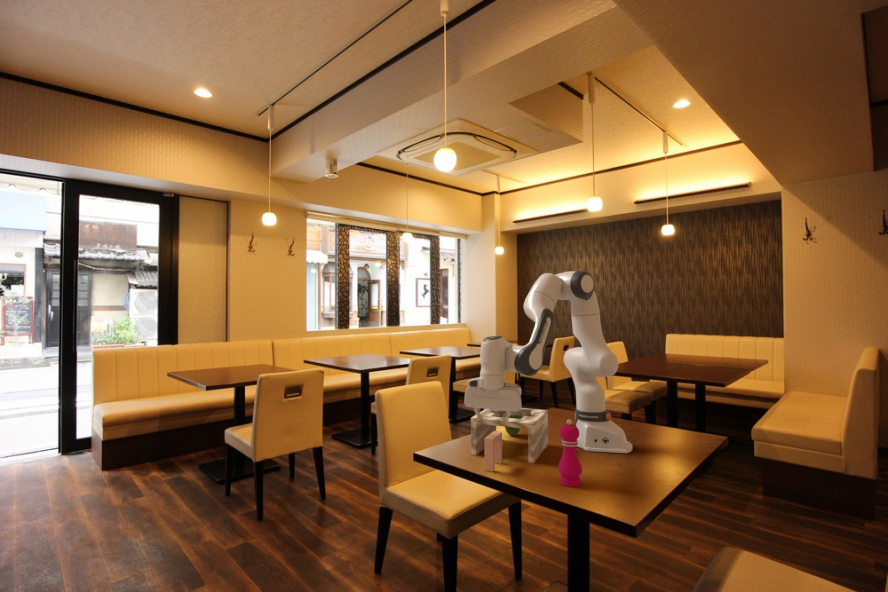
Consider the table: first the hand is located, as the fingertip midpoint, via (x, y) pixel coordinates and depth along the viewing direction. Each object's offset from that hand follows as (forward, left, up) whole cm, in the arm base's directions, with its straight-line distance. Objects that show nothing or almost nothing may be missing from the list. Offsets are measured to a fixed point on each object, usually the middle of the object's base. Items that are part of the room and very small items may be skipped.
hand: (492, 421), depth 160 cm
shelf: (0, -21, -16) cm, 26 cm away
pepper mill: (-27, +5, -16) cm, 32 cm away
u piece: (0, 0, -16) cm, 16 cm away
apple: (+5, -41, -16) cm, 44 cm away
